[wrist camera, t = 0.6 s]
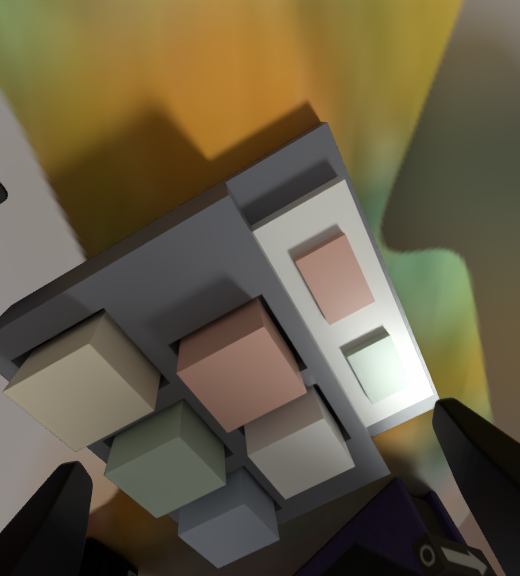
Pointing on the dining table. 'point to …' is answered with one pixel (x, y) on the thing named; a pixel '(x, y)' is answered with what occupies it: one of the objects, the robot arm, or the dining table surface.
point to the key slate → (230, 520)
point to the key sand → (86, 382)
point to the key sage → (167, 459)
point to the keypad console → (271, 293)
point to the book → (399, 541)
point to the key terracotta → (239, 366)
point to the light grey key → (297, 445)
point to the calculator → (3, 193)
